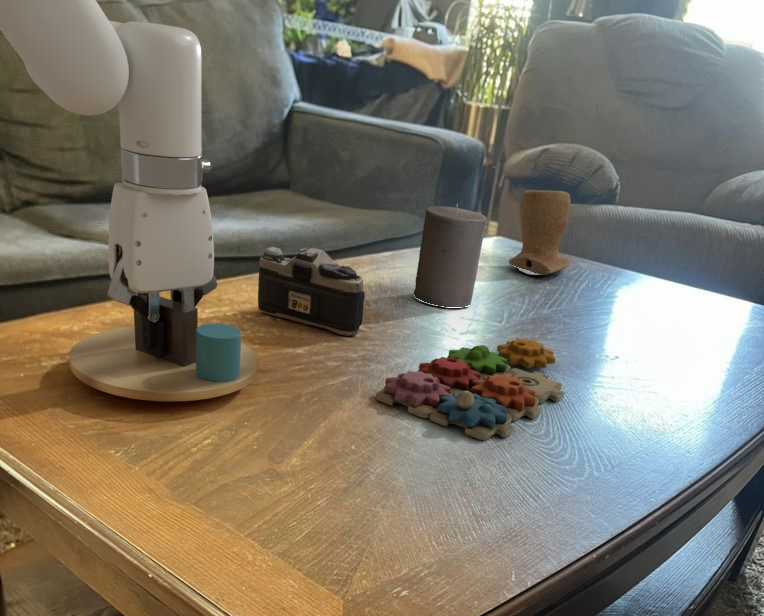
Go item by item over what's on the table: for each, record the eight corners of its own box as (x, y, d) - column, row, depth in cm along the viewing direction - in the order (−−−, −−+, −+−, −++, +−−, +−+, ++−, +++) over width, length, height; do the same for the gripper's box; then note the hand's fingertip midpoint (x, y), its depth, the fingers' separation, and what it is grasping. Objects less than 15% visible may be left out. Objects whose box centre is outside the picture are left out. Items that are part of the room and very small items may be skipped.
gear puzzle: (491, 342, 112) (497, 314, 109) (597, 376, 105) (605, 347, 103) (368, 400, 88) (372, 366, 86) (493, 448, 82) (500, 413, 79)
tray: (27, 362, 82) (20, 296, 78) (161, 322, 98) (159, 265, 94) (173, 419, 75) (172, 350, 71) (292, 365, 90) (296, 306, 87)
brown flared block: (521, 257, 162) (537, 180, 154) (575, 270, 157) (594, 192, 150) (491, 268, 151) (507, 186, 143) (548, 283, 146) (567, 198, 138)
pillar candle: (400, 294, 127) (413, 197, 120) (442, 289, 133) (457, 196, 125) (442, 312, 121) (458, 212, 114) (484, 306, 127) (502, 210, 120)
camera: (381, 323, 113) (389, 253, 108) (349, 340, 105) (357, 266, 100) (287, 298, 118) (291, 230, 113) (250, 313, 110) (252, 240, 104)
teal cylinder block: (186, 373, 82) (186, 329, 80) (215, 362, 86) (215, 320, 83) (221, 386, 80) (221, 341, 78) (248, 374, 84) (250, 331, 82)
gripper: (209, 164, 83) (208, 330, 93) (65, 164, 73) (80, 351, 82) (251, 178, 79) (246, 351, 88) (104, 180, 69) (116, 376, 78)
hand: (166, 349), depth 85 cm, fingers closed on tray, 2 cm apart
